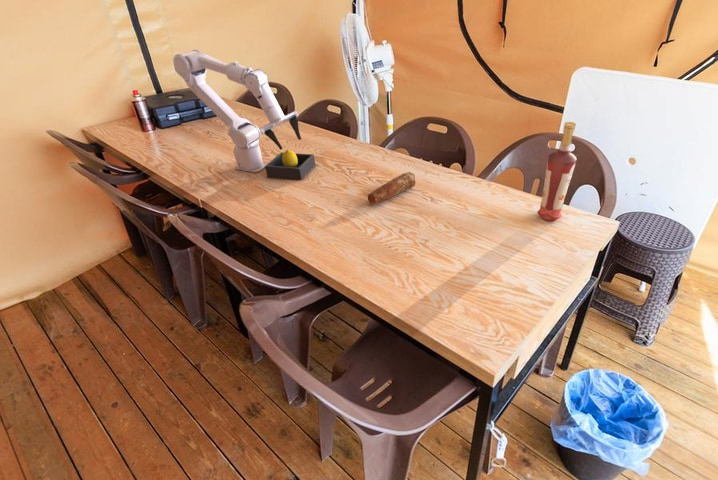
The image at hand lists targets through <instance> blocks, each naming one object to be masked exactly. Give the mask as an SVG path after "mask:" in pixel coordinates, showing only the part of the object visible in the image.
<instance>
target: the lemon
mask: <svg viewBox="0 0 718 480" xmlns="http://www.w3.org/2000/svg"><path fill="white" fill-rule="evenodd" d="M282 153H283V155H282V162H283V165H284V166H285V167H296V166H297V164H298V160H297V156H296V154H295V152H294V151H293V150H290V149H286V150H285V151H284V152H282Z"/></svg>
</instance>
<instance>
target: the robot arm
mask: <svg viewBox="0 0 718 480" xmlns="http://www.w3.org/2000/svg"><path fill="white" fill-rule="evenodd" d="M172 62H173V67H174V71H175V72H176V73H177V74H178V76H180V77H181V78H182V79H183V81H184V82H185V84H186V85H187V87H188V88H189V90H190V91H191V92H192V93H193V94H194V95H195V96H196V97H197V98H198V99H199V100H200V101H201V102H202V103H204V105H205V106H206V107H207V108H208V109H209V110H210V111H212V113H213V114H214V115H215V116H216V117H217V118H218V119H219V120H220V121H221V122H222V123H223V124H224V125H225V126H226V127H227V135H228V136H229V137H230V138H231V140H232V142H233V143H234V145H235V146H234V147H233V155H234V157H235V158H234V159H235V163H236V165H237V167H236V170H237V171H238V170H239V171H244V172H251V173H258V172H260V171H261V170H263V169H265V166H266V165H267V164H268V163H269V162H268V163H266V162H264V161H263V156H262V151H261V147H260V144H259V143H260V139H261V135H263V134H264V135H265V136H266V137H268V138H269V139H270V140H271V141H272V142H273V143H274V144H275V145H276V146H277V147H278V149H279V150H283V146H282V144H280V142H279V140H278V137H277V136H276V133H275V132H274V131H273V129H275V128H278V127H279V126H281V125H283V124H285V123H287V122H288V123H289V125H290V126H291V128H292V129H293V132H294V133H295V136H296V139H298V140H299V141H301V140H302V137H301V134H300V128H299V119H298V117H299V113H298V111H297V110H293V111H291V112H289V113H287V114H286V115H285V114H284V112H283V110H282V108H281V105H280V104H279V102H278V100H277V99H276V97H275V95H274V92H273V91H272V88H271V87H270V85H269V82H270V80H269V76H268V75H267V73H266V72H265V71H264V70H262V69H260V68H257V69H253V68H252V67H251V66H248V67H247V66H244V65H241V64H240V62H239V61H231V62H229V63H227V62H224V61H222V60H219V59H218V58H215V57H213V56H211V55H209V54H207V53H206V52H205V51H200V50H199V49H193V50H191V51H187V52H184V53H176V54H175V55H174V56H173V58H172ZM207 70H210V71H213V72H216V73H220V74H223V75H225V76H226V78H227V79H228V80H229V81H232V82H234V83H236V84H239V85H242V86H245V88H246V89H247V91H249V92H251V93H252V95H253V96H254V97H255V98H256V101H257V102H258V104H259V106H260V108H261V110H262V111H263V113H264V115H265V116H266V119H267V120H268V122H269V123H267V124H266V125H264V126H262V127H258V126H257V125H256V124H254V123H252V122H251V121H249V120H248V119H247V118H243V117H240V116H239V115H238V114H237V113H236V112H235V111H234V110H233V109H232V108H231V107H230V106H229V105H228V104H227V103H226V102H225V101H224V100H223V99H222V98H221V97H220V96H219V95H218V94H217V93H216V92H215V91H214V90H213V89H212V88H211V86H210V85H208V84H207V83H206V78H207Z"/></svg>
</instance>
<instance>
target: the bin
mask: <svg viewBox="0 0 718 480" xmlns="http://www.w3.org/2000/svg"><path fill="white" fill-rule="evenodd" d="M283 153H284V152H280V153H278V154H277V155H276V156H275V157H273V159H272V160H271V161H269V162H268V164H267V165H266V166H265V167H264V169H265V173H266V178H269V179H282V180H295V181H296V180H297V181H302V180H303V179H304V178H305V177H306V176H307V175H308V174H310V172H311V171H312V170H313V169H314V167H315V166H316V160H315V155H314V153H313V154H311V153H310V154H309V153H299V152H298V153H297V152H296V153H295V152H294V153H295V154H296V156H297V160H298V164H297V166H296V167H285V166H284V165H283V162H282V155H283Z"/></svg>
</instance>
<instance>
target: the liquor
mask: <svg viewBox="0 0 718 480" xmlns="http://www.w3.org/2000/svg"><path fill="white" fill-rule="evenodd" d="M576 125H577V124H576V122H574V121H566V122H564V125H563V130H562V131H563V134H562V137H561V141H560V144H559V147H558V150H557V151H553V152H551V153H549V155H548V156H547V164H546V169H545V175H544V183H543V189H542V196H541V201H540V206H539V210H538V211H537V215H538V216H539V217H540V218H541V219H542V220H544V221H546V222H555V221H557V220H559V219H561V218H562V215H563V214H562V210H563V207H564V202H565V198H566V195H567V192H568V188H569V186H570V183H571V179H572V178H573V173H574V170H575V167H576V164H577V157H576V156H575V154H574V153H572V152H571V146H572V140H573V135H574V132H575V130H576Z"/></svg>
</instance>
